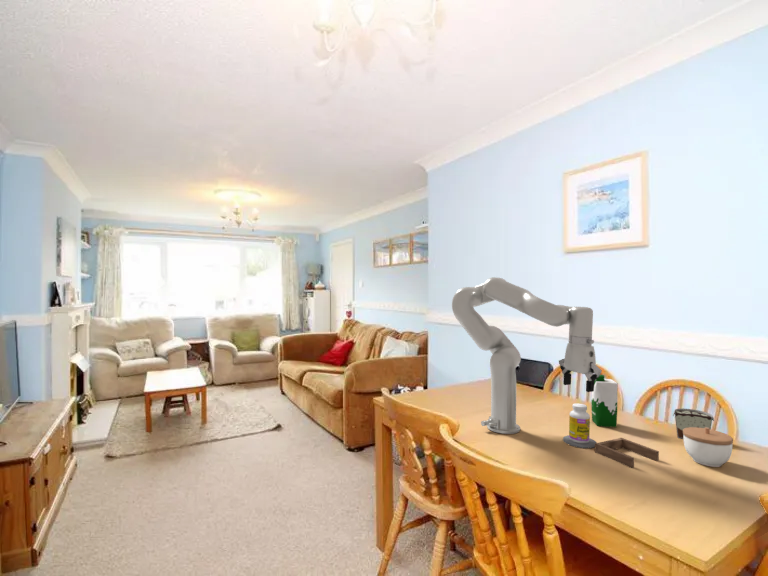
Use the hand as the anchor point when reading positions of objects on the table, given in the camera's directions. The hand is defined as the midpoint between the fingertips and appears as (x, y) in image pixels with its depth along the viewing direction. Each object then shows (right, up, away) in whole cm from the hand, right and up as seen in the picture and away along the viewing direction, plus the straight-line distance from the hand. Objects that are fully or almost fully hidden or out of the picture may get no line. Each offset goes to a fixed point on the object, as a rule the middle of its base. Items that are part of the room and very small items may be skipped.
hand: (578, 388), depth 145 cm
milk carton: (+20, -20, +19) cm, 34 cm away
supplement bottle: (0, -19, 0) cm, 19 cm away
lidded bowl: (+34, -20, -16) cm, 42 cm away
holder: (+10, -20, -12) cm, 25 cm away
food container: (+45, -20, +5) cm, 50 cm away
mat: (0, -20, 0) cm, 20 cm away
